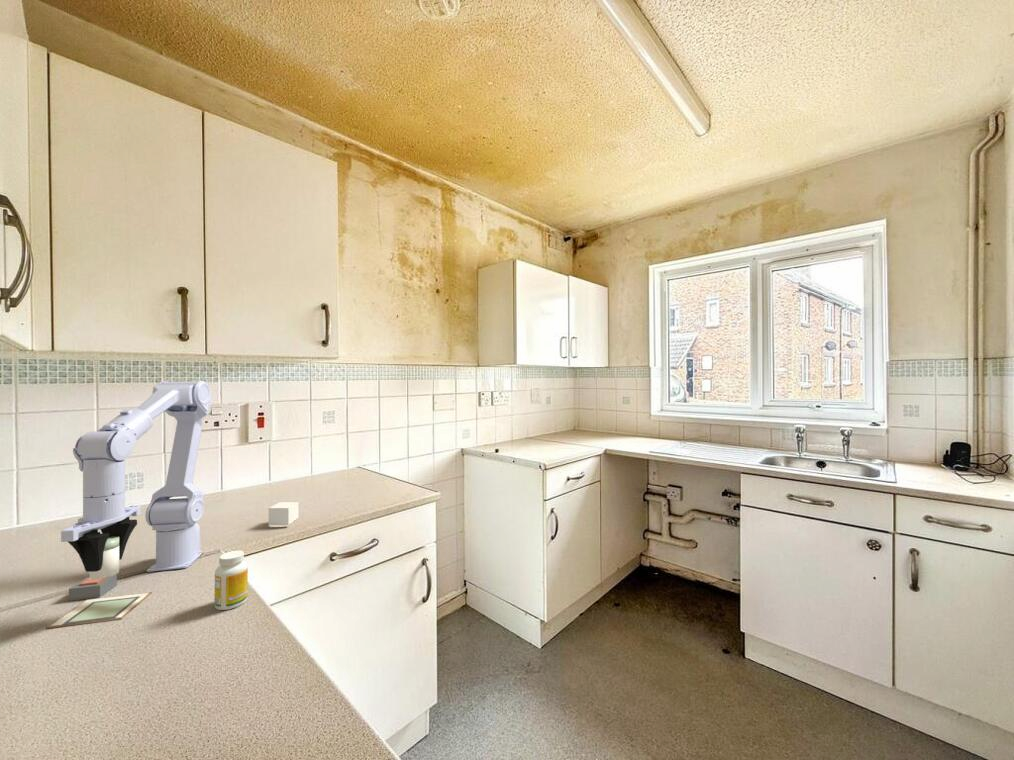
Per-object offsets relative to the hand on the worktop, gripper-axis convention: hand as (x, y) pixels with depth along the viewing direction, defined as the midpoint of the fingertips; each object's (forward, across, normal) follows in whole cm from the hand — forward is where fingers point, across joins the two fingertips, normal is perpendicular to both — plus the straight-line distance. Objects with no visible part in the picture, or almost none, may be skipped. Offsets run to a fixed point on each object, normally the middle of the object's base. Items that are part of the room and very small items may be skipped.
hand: (104, 565), depth 77 cm
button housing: (+9, -8, -8) cm, 14 cm away
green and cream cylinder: (+2, 0, 0) cm, 2 cm away
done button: (+7, -8, -8) cm, 13 cm away
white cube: (+9, -46, +13) cm, 49 cm away
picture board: (+9, -1, -1) cm, 9 cm away
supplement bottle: (+9, 0, +23) cm, 24 cm away
